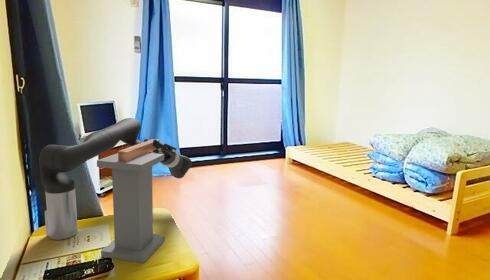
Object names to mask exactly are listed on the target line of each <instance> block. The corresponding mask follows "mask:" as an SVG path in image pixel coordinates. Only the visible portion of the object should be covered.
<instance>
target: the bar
mask: <svg viewBox="0 0 490 280" xmlns="http://www.w3.org/2000/svg"><path fill="white" fill-rule="evenodd" d="M148 140H149V141H146V142H144V141H142V142H143V143H140V144H137V145H134V146H129V147H126V148H124V149H121V150H118V152H117V153H118V161H130V160H132V159H134V158H137V157H139V156H141V155H144V154H146V153H149V152H151V151H153V150H156V149H158V148H156V147H154V146H153V140H157V141H158V142H159V143H161V141H160V139H152V138H151V139H148Z"/></svg>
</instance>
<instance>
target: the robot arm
mask: <svg viewBox="0 0 490 280" xmlns="http://www.w3.org/2000/svg"><path fill="white" fill-rule="evenodd" d="M141 128H142V124H141V122H140V120H138V119H136V118H134V117H133V118H132V117H127V118H123V119H121V120H119V121H118V122H115V123H114V124H112V125H110V126H107V127H104V128H102V129H99V130H95V131H93V132H91V133H89V134H87V136H86V137H84V140H83V142H81V143H78V144H75V145H63V144H61V145H59V144H48V145H46V146H44V147H43V148H42V149H41V150H40V154H39V159H38V160H39V170H40V171H39V172H40V178H41V183H42V185H43V187H44V191H45V193H44V194H45V202H46V210H44V223H45V224H44V225H45V234H46V237H48V238H49V239H50V240H55V241H56V240H57V241H59V240H67V239H69V238H70V239H71V238H73V237H74V236H77V234H78V231H79V230H78V218H77V217H78V213H77V212H78V211H77V198H76V183H75V180H74V179H73V178H71V177H70V176H68V175H67V174H66V173H67V172H68V173H69V172H71V171H74V170H75V169H77V168H78V167H80V166H82V165H83V164H84V163H86V162H87V161H90V160H92V159H93V158H96V157H97V156H99V155H102V154H104V153H106V152H108V151H110V150H112V149H113V148H114V147H115V146H116V145H118V143H119V142H122V143H124V144H126V145H128V146H129V147H131V146H134V145H137V144H140V143H143V142H146V141H149V140H150V139H148V138H144V140H143V141H141V140H140V139H139V137H138V136H139V134H140V132H141ZM157 140H158V139H156V140H153V146H154V147H156V148H158V149H156V150H153V151H151V152H149V153H157V154H164V160H163V161H161V162H159V163H160V164H161V165H163V166H165V167H167V168H168V170H169V173H170V174H171V175H172V176H173V177H174V178H176V179H177V180H179V179H183V178H184V177H185V176H186V174H187V173H188V171H189V170H190V168H191V167H192V165H193V161H192V160H191V158H189V157H188V156H185V155H181V154H179V153H178V152H177V148H176V147H175V146H172V145H169V143H163V142H160V143H159V142H158V141H157Z"/></svg>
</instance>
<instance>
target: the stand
mask: <svg viewBox="0 0 490 280" xmlns="http://www.w3.org/2000/svg"><path fill="white" fill-rule="evenodd" d="M163 160H164V154H157V153H146V154H144V155H141V156H139V157H137V158H134V159H132V160H130V161H118V152H117V153H114V154H111V155H109V156H105V157H103V158H100V159H97V160H96V167H97V168H104V169H111V179H112V180H111V181H112V183H111V184H112V202H113V203H112V205H113V206H112V207H113V230H114V231H113V232H114V233H113V235H114V236H113V238H114V240H113V241H111V242H110V243H109V244H108V245H107V246H104V248H103V249H101V250H100V256H101V257H102V258H108V259H109V258H110V259H115V260H122V261H128V262H134V263H140V264H145V262H147V261H148V260H149V258H150V257H151V256H152V255H153V254H154V253H155V252H156V251H157V250H158V249H159V247H160V246H161V245H162V244H163V243H164V242H166V241H165V240H166V238H165V237H166V236H165V235H166V234H165V235H164V234H157V233H154V222H153V221H154V216H153V215H154V214H153V213H154V209H153V208H154V207H153V204H154V203H153V202H154V201H153V166H156V165H157V164H159V163H160V162H161V161H163Z"/></svg>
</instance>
